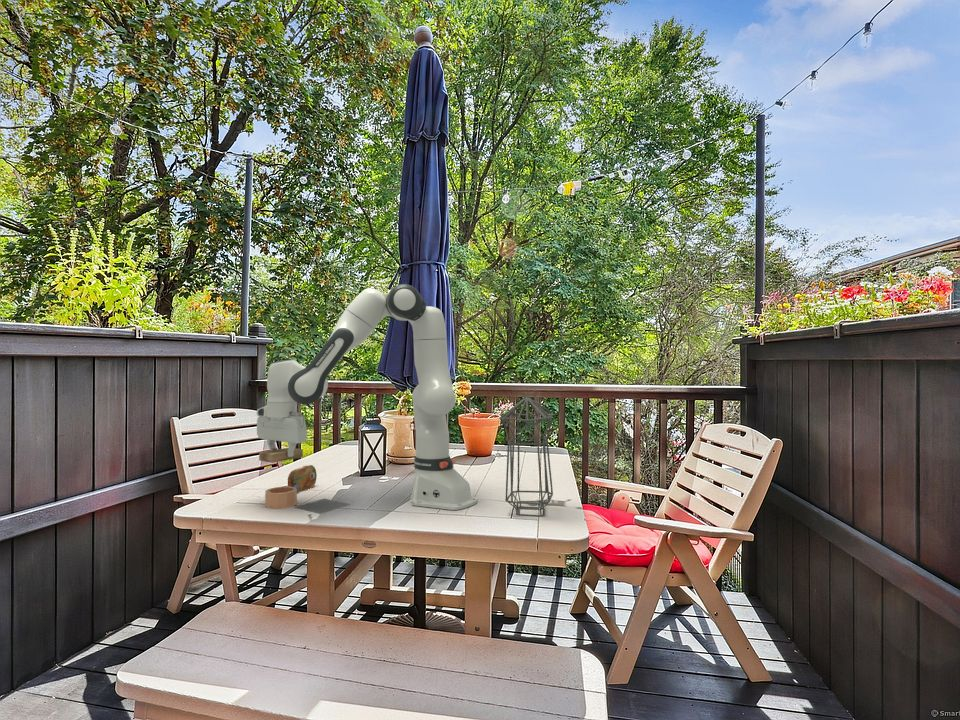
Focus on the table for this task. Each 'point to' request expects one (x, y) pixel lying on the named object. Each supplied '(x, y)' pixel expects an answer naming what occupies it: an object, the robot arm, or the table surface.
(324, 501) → the mat
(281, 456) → the cover board
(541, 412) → the geometric lantern
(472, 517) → the table surface
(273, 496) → the bowl
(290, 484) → the brown mottled rounded slab
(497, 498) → the table surface
